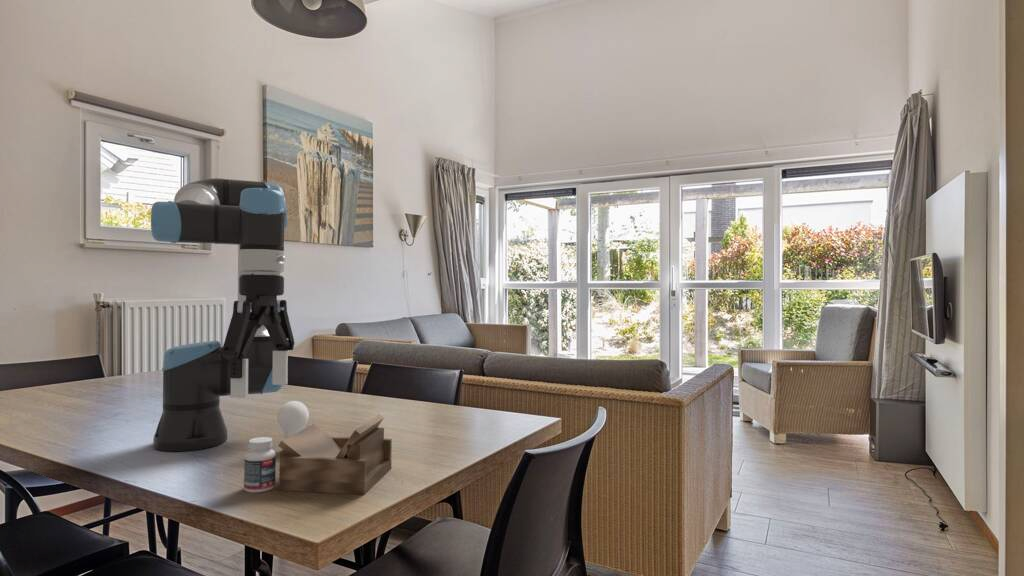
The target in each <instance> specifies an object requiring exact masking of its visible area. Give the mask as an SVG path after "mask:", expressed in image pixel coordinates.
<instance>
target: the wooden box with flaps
mask: <svg viewBox="0 0 1024 576" xmlns="http://www.w3.org/2000/svg"><path fill="white" fill-rule="evenodd" d="M384 419H385V417H384V416H382V415H381V413H379V414H378V415H376V416H374V417H372V418H371V419H370V420H368V421H367V422H365V423H364V424H362V425H361V426H359V427H358V428H356V429H354V431H353V432H352V434H351V435H350V436H331V435H329V434H327V433H326V432H325V431H324V430H322V429H321V428H320V427H318V426H317V425H316V424H315V423H313V424H312V423H311V425H309V426H307V427H304V428H303V430H301V431H299V432H297V433H295V434H293V435H291V436H289V437H287V438H285V437H284V438H283V439H282V440H280V442H279V444H278V445H277V446H278V448H280V449H282V450H281V451H280V452H279V467H278V468H279V475H278V476H279V477H278V479H279V482H278V483H279V486H278V490H279V491H290V492H306V493H324V494H325V493H326V494H327V493H328V494H344V495H345V494H346V495H347V494H349V495H362V496H363V495H366V494H367V493H368V492H369V491H370V490H371V489H372V488H373V487H374V486H375V485H376V484H377V483H378V482H379V481H380V480H382V478H383V477H384V476H386V474H387V473H389V472H390V470H391V469H392V450H393V449H392V444H393V442H392V441H393V440H392V438H385V427H379V426H380V424H381V423H382V422H383V420H384Z"/></svg>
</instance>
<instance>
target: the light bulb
mask: <svg viewBox="0 0 1024 576" xmlns="http://www.w3.org/2000/svg"><path fill="white" fill-rule="evenodd" d="M309 418H310V413H309V408H308V407H307V406H306V405H305V403H303V402H301V401H298V400H290V401H288V402H285V403H283V405H282V406H281V407H280V408H279V410H278V412H277V422H278V424H279V426H280V428H281V429H282V432H283V433H284V439H285V438H287V437H289V436H291V435H293V434H295V433H297V432H299V431H301V430H303V429H305V426H306V424H307V423H308V421H309Z"/></svg>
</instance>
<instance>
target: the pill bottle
mask: <svg viewBox="0 0 1024 576" xmlns="http://www.w3.org/2000/svg"><path fill="white" fill-rule="evenodd" d="M273 445H274V444H273V438H272V437H268V436H260V437H254V438H251V439H249V440H248V449H249V451H248V452H246V453H245V454H244V462H243V463H244V464H243V465H244V467H243V471H244V473H243V474H244V475H243V476H244V477H243V490H244V491H246V492H247V493H255V494H256V493H259V494H260V493H264V492H269V491H270V490H273V489H274V488H275V486H276V468H277V467H276V465H277V463H276V461H277V460H276V459H277V457H276V456H277V454H276V451H275V450H273V449H271V448H272V447H273Z"/></svg>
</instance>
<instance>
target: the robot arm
mask: <svg viewBox="0 0 1024 576" xmlns="http://www.w3.org/2000/svg"><path fill="white" fill-rule="evenodd" d="M174 195H175V196H174V199H173V201H172V200H168V201H155V202H154V203H152V205H151V210H150V230H151V236H152V238H153V239H154V240H155V241H156V242H165V243H171V244H177V243H182V244H183V243H186V244H190V243H191V244H215V245H233V246H234V245H237V248H238V249H237V300H234V302H233V307H232V315H231V319H230V322H229V325H228V329H227V331H226V332H227V333H226V335H225V339H224V342H223V346H222V345H221V343H220V341H219V340H209V341H199V342H192V343H188V344H187V343H186V344H181V345H177V346H173V347H171V348H169V349H167V350H166V351H165V352H164V355H163V363H162V367H161V368H162V371H163V372H162V377H163V378H162V413H161V416H160V418H159V421H158V423H157V427H156V429H155V430H156V431H155V433H154V435H153V447H152V448H154V449H155V450H156V451H162V452H163V451H164V452H187V451H195V450H202V449H207V448H212V447H215V446H219V445H221V444H223V443H225V442H226V441H228V428H227V426H226V423H225V420H224V417H223V413H222V411H221V408H220V402H221V401H220V400H221V399H220V397H225V396H230V398H245V399H246V398H248V397H249V395H258V394H260V395H263V394H268V393H269V394H270V393H276V392H277V393H278V392H279V391H280V390H281V389H282V388H283V386H287V385H288V381H289V379H288V377H289V376H288V375H289V374H288V373H289V372H288V371H289V368H288V367H289V365H288V363H289V362H288V361H289V358H288V357H289V351H293V350H294V345H295V339H294V335H293V331H292V330H293V329H292V326H291V322H290V319H289V314H288V306H287V300H286V299H278V296H279V297H281V296H283V295H284V293H285V277H284V276H283V275H281V273H283V272H284V271H285V260H286V256H285V245H284V244H285V229H286V228H287V226H288V215H287V212H288V211H287V204H286V203H287V202H286V198H285V193H284V190H283V188H282V186H281V185H279V184H278V183H273V182H266V181H262V180H261V181H255V180H240V179H225V178H220V177H219V178H216V177H215V178H204V179H201V180H196V181H192V182H190V183H186V184H185V185H183V186H182V187H181V188H179V189H178V190H177V191H176V193H175V194H174Z"/></svg>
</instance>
